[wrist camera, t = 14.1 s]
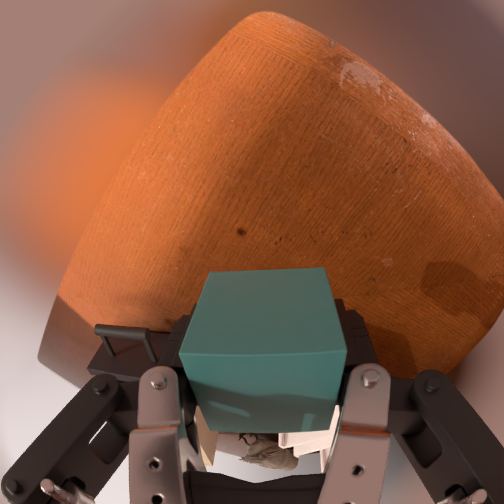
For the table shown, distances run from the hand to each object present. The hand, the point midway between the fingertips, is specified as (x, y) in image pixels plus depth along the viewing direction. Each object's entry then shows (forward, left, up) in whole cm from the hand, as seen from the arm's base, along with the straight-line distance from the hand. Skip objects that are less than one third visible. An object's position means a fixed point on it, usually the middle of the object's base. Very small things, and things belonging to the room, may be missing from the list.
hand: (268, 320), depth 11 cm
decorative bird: (+44, -19, -18) cm, 51 cm away
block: (0, 0, 0) cm, 0 cm away
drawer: (+13, -24, -17) cm, 31 cm away
